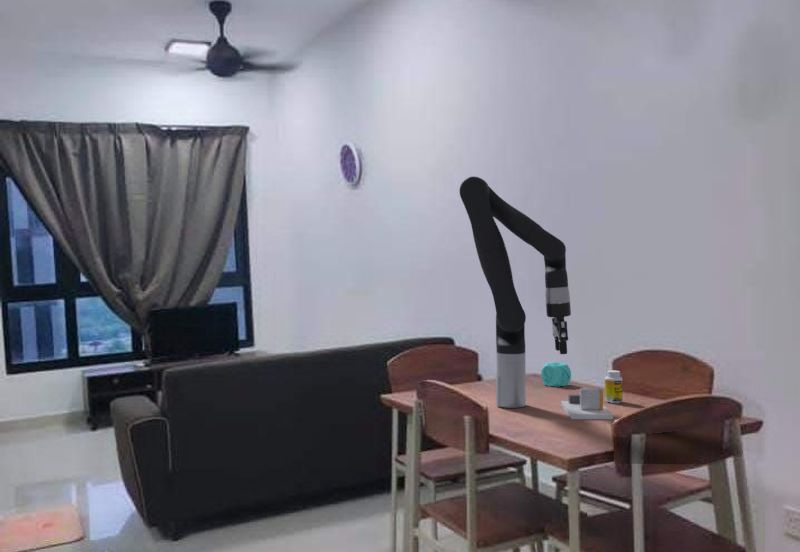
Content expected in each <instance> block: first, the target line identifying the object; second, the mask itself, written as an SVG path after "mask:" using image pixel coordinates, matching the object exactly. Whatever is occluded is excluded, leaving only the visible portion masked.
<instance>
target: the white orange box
mask: <svg viewBox="0 0 800 552" xmlns="http://www.w3.org/2000/svg"><path fill="white" fill-rule="evenodd" d="M579 395H580V409H581V410H603V405H604V390H603V388H602V387H599V388H594V387H593V388H588V387H587V388H586V387H585V388H584V387H583V388H582V387H581V388H579Z"/></svg>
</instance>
